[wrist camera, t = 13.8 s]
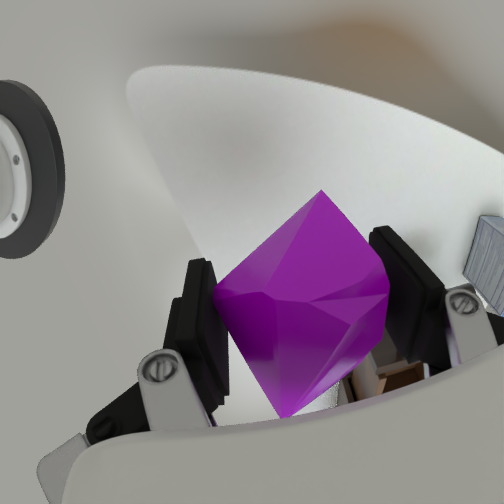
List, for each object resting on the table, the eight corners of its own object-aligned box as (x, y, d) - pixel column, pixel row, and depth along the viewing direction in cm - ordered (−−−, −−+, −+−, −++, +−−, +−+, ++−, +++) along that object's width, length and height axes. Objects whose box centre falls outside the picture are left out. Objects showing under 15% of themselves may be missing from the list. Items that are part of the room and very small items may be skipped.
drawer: (355, 262, 26) (387, 318, 20) (451, 243, 26) (494, 286, 19) (345, 382, 36) (359, 430, 29) (418, 362, 35) (439, 404, 29)
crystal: (367, 290, 12) (412, 371, 8) (254, 338, 13) (264, 428, 9) (333, 183, 10) (398, 250, 6) (193, 248, 11) (175, 344, 7)
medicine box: (483, 271, 29) (521, 313, 22) (460, 274, 29) (500, 320, 22) (501, 215, 25) (548, 251, 18) (478, 214, 25) (529, 254, 18)
